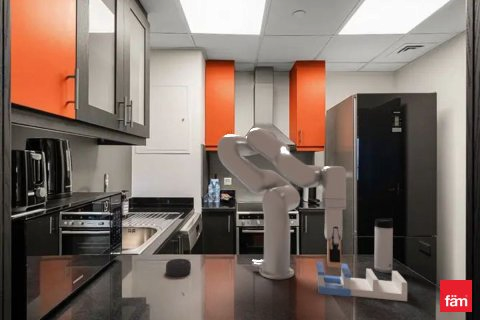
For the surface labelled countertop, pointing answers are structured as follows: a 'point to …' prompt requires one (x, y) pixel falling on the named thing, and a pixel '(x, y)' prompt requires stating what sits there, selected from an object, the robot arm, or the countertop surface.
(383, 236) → the travel mug
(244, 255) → the countertop surface
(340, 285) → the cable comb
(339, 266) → the cord plug
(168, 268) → the smart speaker
